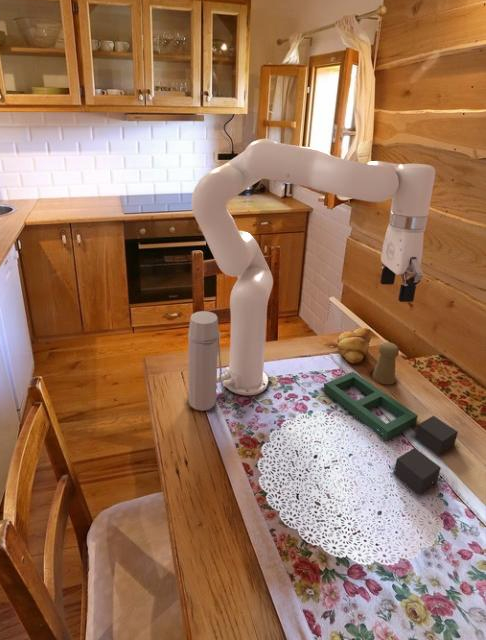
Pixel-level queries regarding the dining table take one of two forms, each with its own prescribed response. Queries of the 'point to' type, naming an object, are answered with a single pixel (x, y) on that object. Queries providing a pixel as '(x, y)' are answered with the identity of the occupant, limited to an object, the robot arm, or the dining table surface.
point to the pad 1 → (436, 435)
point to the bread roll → (354, 344)
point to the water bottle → (203, 360)
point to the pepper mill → (386, 363)
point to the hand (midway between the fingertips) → (395, 292)
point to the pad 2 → (417, 470)
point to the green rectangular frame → (371, 405)
